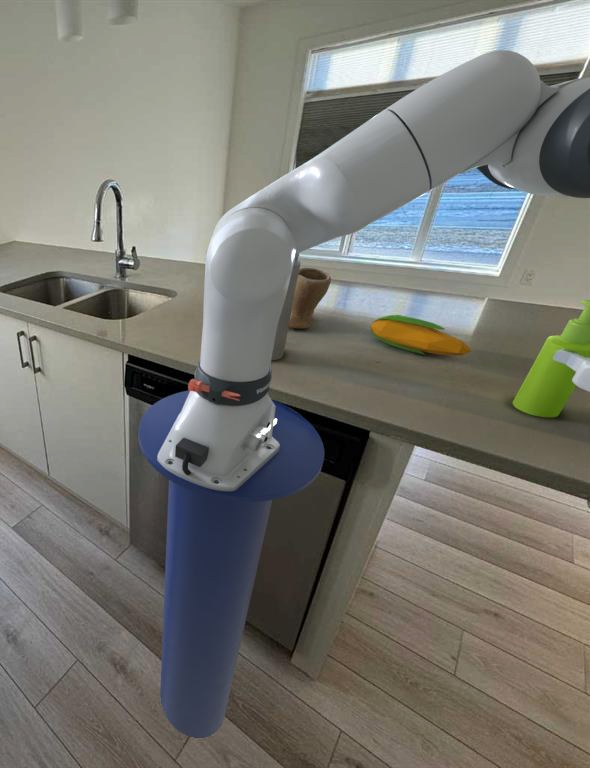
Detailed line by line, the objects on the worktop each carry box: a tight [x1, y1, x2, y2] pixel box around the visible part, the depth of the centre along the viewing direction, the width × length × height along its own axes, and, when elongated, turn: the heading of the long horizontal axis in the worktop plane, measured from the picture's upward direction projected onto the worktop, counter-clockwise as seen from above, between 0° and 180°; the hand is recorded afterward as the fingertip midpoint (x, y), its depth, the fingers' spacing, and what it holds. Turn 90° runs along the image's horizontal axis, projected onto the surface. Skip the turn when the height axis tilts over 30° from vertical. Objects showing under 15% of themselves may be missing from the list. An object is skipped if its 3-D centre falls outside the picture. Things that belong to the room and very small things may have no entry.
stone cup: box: [288, 267, 332, 330], centre depth 111 cm, size 15×12×15 cm
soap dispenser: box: [512, 299, 590, 419], centre depth 67 cm, size 6×7×20 cm
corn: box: [370, 314, 472, 357], centre depth 93 cm, size 7×8×20 cm
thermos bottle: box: [271, 253, 301, 361], centre depth 93 cm, size 8×8×28 cm
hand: (577, 348), depth 66 cm, fingers open, 8 cm apart
